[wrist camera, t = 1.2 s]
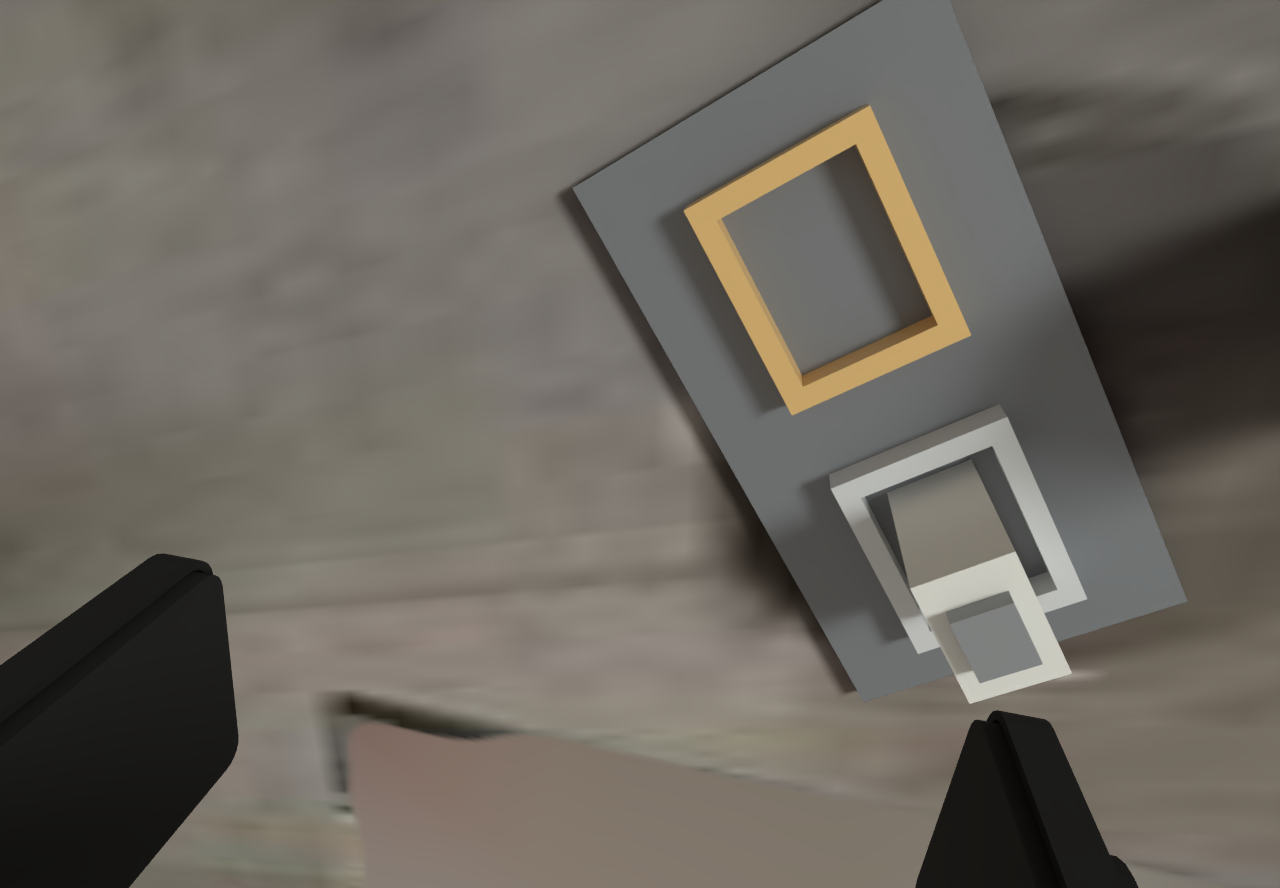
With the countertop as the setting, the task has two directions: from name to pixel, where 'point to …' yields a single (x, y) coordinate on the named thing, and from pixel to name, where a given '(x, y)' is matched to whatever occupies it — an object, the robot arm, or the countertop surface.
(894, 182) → the socket panel
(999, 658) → the plug
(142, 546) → the countertop surface
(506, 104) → the countertop surface
